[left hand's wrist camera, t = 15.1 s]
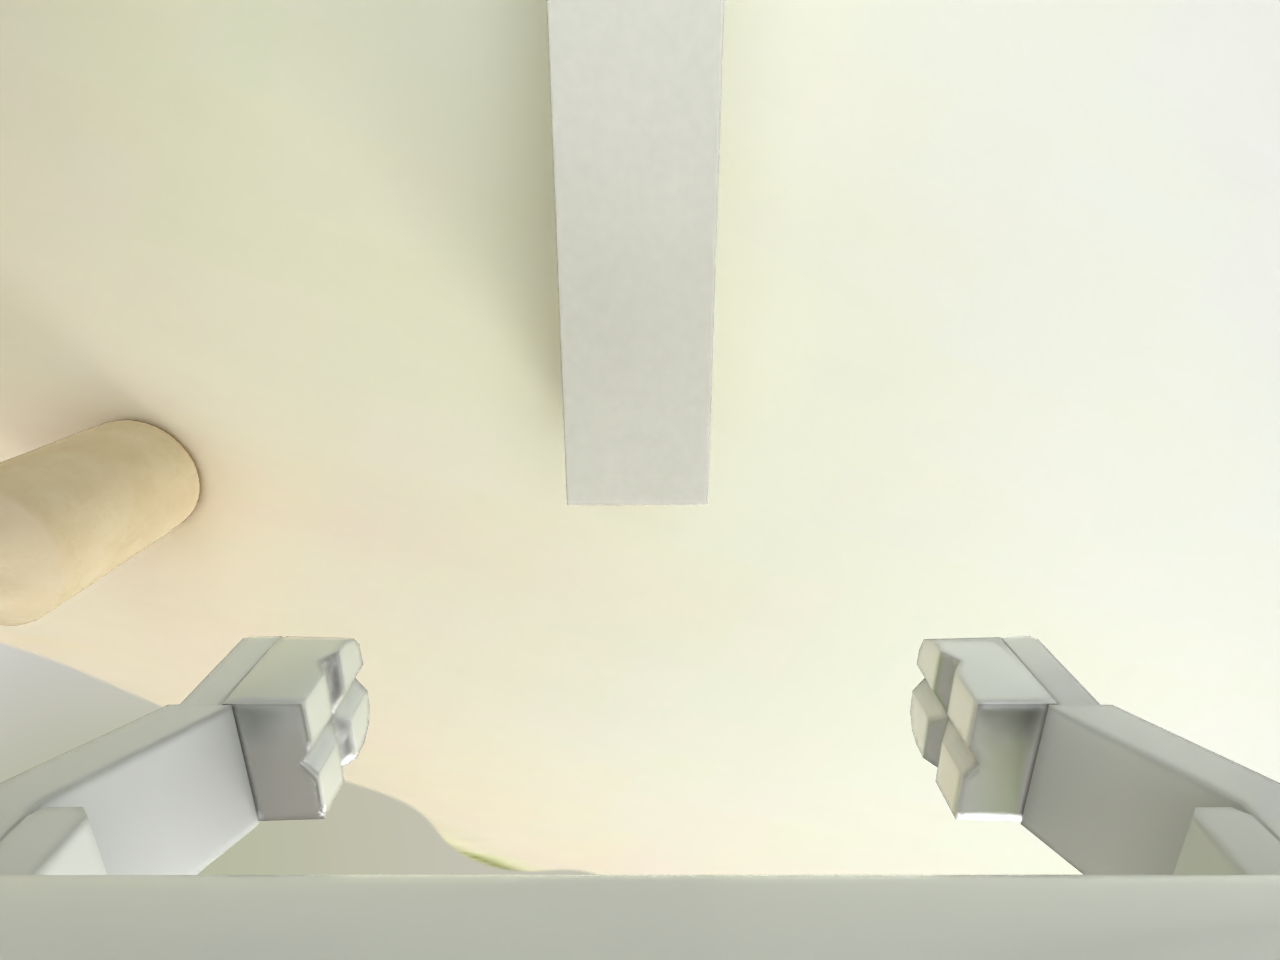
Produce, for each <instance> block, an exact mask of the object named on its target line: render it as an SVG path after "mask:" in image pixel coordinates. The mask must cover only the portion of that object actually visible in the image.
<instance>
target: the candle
mask: <svg viewBox="0 0 1280 960" xmlns="http://www.w3.org/2000/svg"><path fill="white" fill-rule="evenodd" d="M199 492H200V483H199V476H198V473H197V469H196V467H195V465H194V462H193V461H192V459H191V457H190V456H189V454H188V453H187V451H186V450H185V449H184V448H183V447H182V445H181V444H180V443H179V442H178V441H176V440H175V439H174V438H173V437H172V436H170V435H169V434H167V433H166V432H164V431H163V430H161V429H159V428H157V427H155V426H152V425H150V424H147V423H144V422H139V421H133V420H119V421H112V422H107V423H104V424H101V425H98V426H95V427H92V428H90V429H87V430H84V431H81V432H79V433H76V434H74V435H71V436H68V437H66V438H63V439H61V440H58V441H55V442H53V443H50V444H48V445H45V446H42V447H40V448H37V449H35V450H32V451H29V452H27V453H24V454H22V455H19V456H16V457H14V458H11V459H9V460H6V461H3V462H1V463H0V625H2V626H12V625H21V624H26V623H29V622H32V621H35V620H37V619H39V618H41V617H43V616H44V615H46V614H47V613H49V612H50V611H52V610H53V609H55V608H56V607H58V606H59V605H61V604H62V603H64V602H65V601H67V600H68V599H70V598H71V597H73V596H74V595H76V594H77V593H79V592H80V591H82V590H83V589H85V588H86V587H88V586H89V585H91V584H92V583H94V582H95V581H97V580H98V579H100V578H101V577H103V576H104V575H106V574H107V573H109V572H110V571H112V570H113V569H115V568H116V567H118V566H119V565H121V564H122V563H124V562H125V561H127V560H128V559H130V558H131V557H133V556H134V555H136V554H137V553H138V552H140V551H141V550H143V549H144V548H146V547H147V546H149V545H150V544H152V543H153V542H155V541H156V540H158V539H159V538H161V537H162V536H164V535H165V534H167V533H168V532H170V531H171V530H172V529H174V528H175V527H177V526H178V525H179V524H181V523H182V522H183V521H184V520H185V519H186V518H187V517H188V516H189V515H190V514H191V513H192V511H193V510H194V508H195V506H196V504H197V501H198V498H199Z"/></svg>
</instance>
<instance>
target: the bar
mask: <svg viewBox="0 0 1280 960" xmlns="http://www.w3.org/2000/svg"><path fill="white" fill-rule="evenodd" d="M547 17H548V42H549V66H550V91H551V116H552V141H553V166H554V191H555V215H556V240H557V265H558V290H559V315H560V340H561V364H562V389H563V414H564V439H565V464H566V489H567V505H707V504H708V483H709V452H710V421H711V390H712V360H713V329H714V298H715V267H716V236H717V206H718V175H719V144H720V113H721V82H722V52H723V21H724V0H547Z"/></svg>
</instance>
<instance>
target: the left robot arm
mask: <svg viewBox="0 0 1280 960" xmlns="http://www.w3.org/2000/svg"><path fill="white" fill-rule="evenodd" d="M362 665H363V661H362V656H361V651H360V646H359V644H358V643H357V642H356V641H355V639H354V638H325V637H281V636H266V637H249V638H244V639H242V640H241V641H240V642H239V643H238V644H237V645H236V646H235V647H234V648H233V649H232V651H231V652H230V653H229V654H228V655H227V656H226V657H225V658H224V659H223V660H222V661H221V662H220V663H219V664H218V665H217V666H216V667H215V668H214V669H213V670H212V671H211V672H210V674H209V675H208V676H207V677H206V678H205V679H204V680H203V681H202V682H201V683H200V684H199V685H198V686H197V687H196V688H195V689H194V690H193V691H192V692H191V693H190V694H189V695H188V697H187V698H186V699H185V700H184V701H183V702H182V703H181V704H180V705H167V706H165V707H162V708H160V709H158V710H156V711H154V712H152V713H149V714H147V715H145V716H143V717H141V718H139V719H137V720H134V721H132V722H130V723H128V724H126V725H124V726H122V727H119V728H117V729H115V730H113V731H111V732H109V733H107V734H104V735H102V736H100V737H98V738H96V739H94V740H91V741H89V742H87V743H85V744H83V745H81V746H79V747H76V748H74V749H72V750H70V751H68V752H66V753H64V754H61V755H59V756H57V757H55V758H53V759H51V760H48V761H46V762H44V763H42V764H40V765H38V766H36V767H33V768H31V769H29V770H27V771H25V772H23V773H21V774H18V775H16V776H14V777H12V778H10V779H8V780H6V781H3V782H1V783H0V960H1280V783H1278V782H1276V781H1274V780H1272V779H1270V778H1268V777H1265V776H1263V775H1261V774H1259V773H1257V772H1255V771H1253V770H1250V769H1248V768H1246V767H1244V766H1242V765H1240V764H1238V763H1235V762H1233V761H1231V760H1229V759H1227V758H1225V757H1223V756H1220V755H1218V754H1216V753H1214V752H1212V751H1210V750H1208V749H1205V748H1203V747H1201V746H1199V745H1197V744H1195V743H1193V742H1190V741H1188V740H1186V739H1184V738H1182V737H1180V736H1178V735H1175V734H1173V733H1171V732H1169V731H1167V730H1165V729H1163V728H1160V727H1158V726H1156V725H1154V724H1152V723H1150V722H1148V721H1145V720H1143V719H1141V718H1139V717H1137V716H1135V715H1133V714H1130V713H1128V712H1126V711H1124V710H1122V709H1120V708H1118V707H1115V706H1113V705H1100V704H1099V703H1098V702H1097V701H1096V700H1095V699H1094V698H1093V696H1092V695H1091V694H1090V693H1089V692H1088V691H1087V690H1086V689H1085V688H1084V687H1083V686H1082V685H1081V684H1080V683H1079V682H1078V681H1077V680H1076V679H1075V678H1074V677H1073V676H1072V674H1071V673H1070V672H1069V671H1068V670H1067V669H1066V668H1065V667H1064V666H1063V665H1062V664H1061V663H1060V662H1059V661H1058V660H1057V659H1056V658H1055V657H1054V656H1053V655H1052V654H1051V652H1050V651H1049V650H1048V649H1047V648H1046V647H1045V646H1044V645H1043V644H1042V643H1041V642H1040V641H1039V640H1038V639H1035V638H1033V637H1030V636H1015V637H994V638H956V639H924V640H923V643H922V645H921V647H920V649H919V654H918V660H917V665H918V667H919V669H920V670H921V672H922V674H923V675H924V677H925V678H924V679H923V681H922V682H921V683H920V684H919V685H918V686H917V687H916V688H915V689H914V690H913V692H912V701H911V709H910V712H911V723H912V731H913V734H914V738H915V741H916V744H917V746H918V748H919V750H920V752H921V754H922V756H923V758H925V759H926V760H927V761H929V762H930V763H932V764H933V765H935V766H936V767H938V770H937V776H936V783H937V785H938V787H939V789H940V790H941V792H942V794H943V796H944V798H945V800H946V802H947V804H948V805H949V807H950V809H951V811H952V813H953V815H954V817H955V819H971V820H1007V821H1021V824H1022V825H1023V826H1024V827H1025V828H1027V829H1028V830H1029V831H1030V832H1031V833H1033V834H1034V835H1035V836H1036V837H1038V838H1039V839H1040V840H1041V841H1043V842H1044V843H1045V844H1046V845H1048V846H1049V847H1050V848H1051V849H1053V850H1054V851H1055V852H1056V853H1058V854H1059V855H1060V856H1061V857H1062V858H1064V859H1065V860H1066V861H1067V862H1069V863H1070V864H1071V865H1072V866H1074V867H1075V868H1076V869H1077V870H1079V871H1080V872H1081V873H1082V874H1084V875H197V874H198V873H199V872H200V871H202V870H203V869H204V868H205V867H207V866H208V865H209V864H210V863H212V862H213V861H214V860H215V859H217V858H218V857H219V856H220V855H222V854H223V853H224V852H225V851H226V850H228V849H229V848H230V847H231V846H233V845H234V844H235V843H236V842H238V841H239V840H240V839H241V838H243V837H244V836H245V835H246V834H248V833H249V832H250V831H251V830H253V829H254V828H255V827H256V826H258V825H259V821H272V820H307V819H325V817H326V815H327V813H328V811H329V809H330V807H331V806H332V804H333V802H334V800H335V798H336V796H337V794H338V792H339V791H340V789H341V787H342V785H343V783H344V776H343V770H342V767H344V766H345V765H347V764H348V763H350V762H351V761H353V760H354V759H355V758H357V756H358V754H359V752H360V750H361V748H362V746H363V744H364V742H365V738H366V733H367V729H368V724H369V699H368V692H367V690H366V689H365V688H364V687H363V686H362V685H361V684H360V683H359V682H358V681H357V679H356V678H355V677H356V675H357V674H358V672H359V670H360V669H361V667H362Z"/></svg>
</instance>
